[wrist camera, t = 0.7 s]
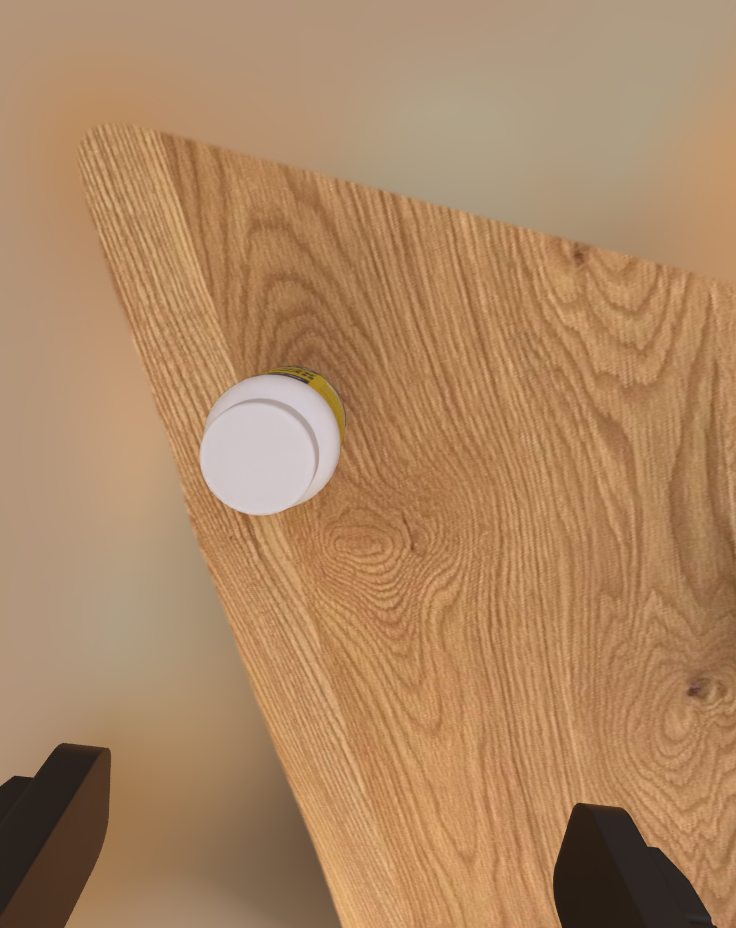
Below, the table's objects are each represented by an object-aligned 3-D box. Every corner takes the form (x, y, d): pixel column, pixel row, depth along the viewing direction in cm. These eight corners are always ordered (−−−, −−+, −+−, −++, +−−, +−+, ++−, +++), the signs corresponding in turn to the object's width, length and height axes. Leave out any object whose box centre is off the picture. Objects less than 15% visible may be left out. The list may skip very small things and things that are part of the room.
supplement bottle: (328, 351, 27) (311, 362, 17) (358, 451, 28) (357, 514, 18) (226, 380, 27) (153, 408, 17) (261, 478, 28) (210, 554, 19)
